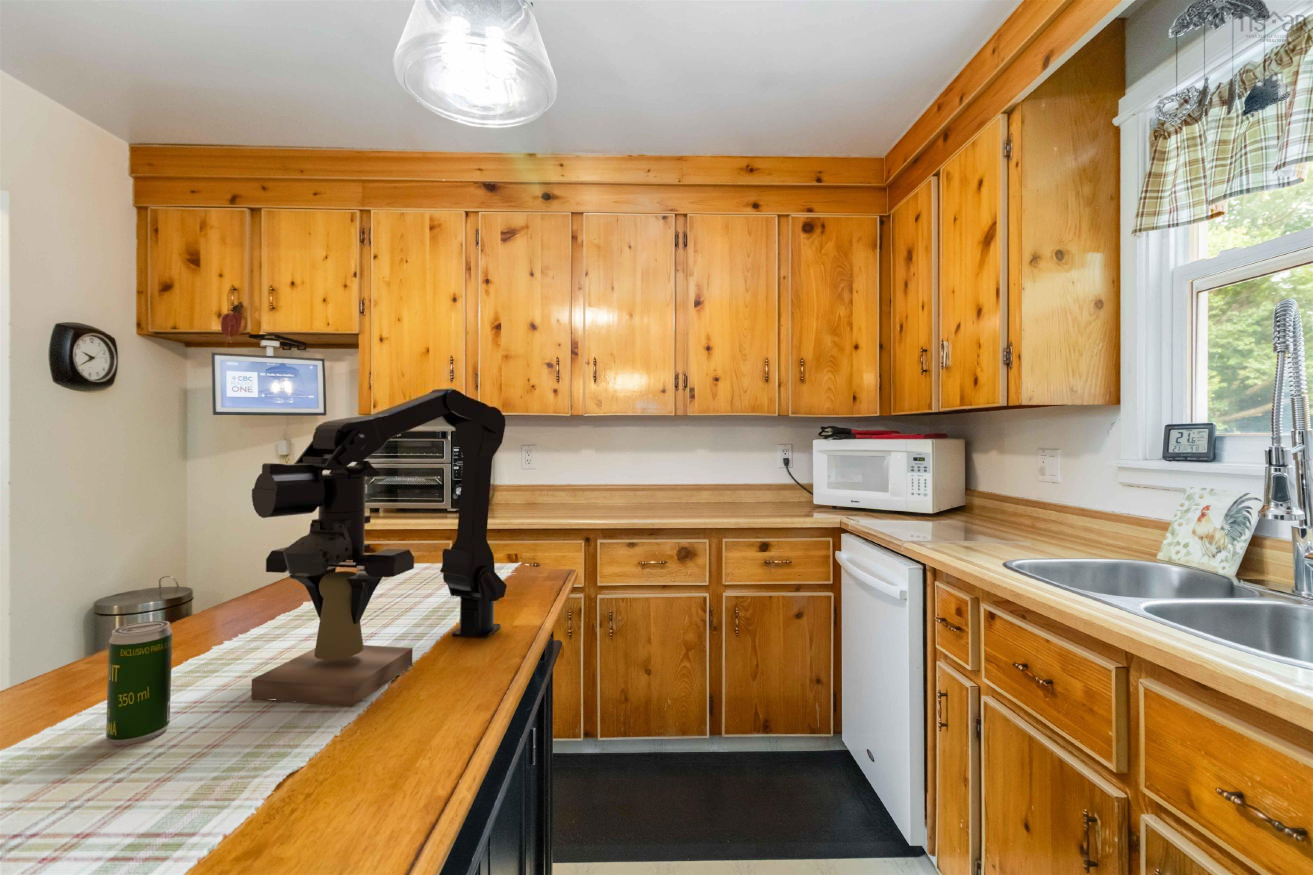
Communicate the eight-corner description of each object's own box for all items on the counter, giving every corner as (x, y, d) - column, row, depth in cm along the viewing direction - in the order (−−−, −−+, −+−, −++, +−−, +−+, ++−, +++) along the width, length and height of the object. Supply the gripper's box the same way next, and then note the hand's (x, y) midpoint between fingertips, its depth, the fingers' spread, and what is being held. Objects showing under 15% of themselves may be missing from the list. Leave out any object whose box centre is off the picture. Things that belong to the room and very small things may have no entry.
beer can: (164, 718, 69) (167, 617, 69) (174, 733, 66) (177, 626, 66) (102, 735, 65) (105, 627, 65) (109, 752, 62) (113, 638, 62)
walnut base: (325, 659, 89) (325, 642, 89) (412, 664, 87) (412, 647, 87) (251, 698, 75) (251, 679, 75) (352, 706, 73) (353, 686, 73)
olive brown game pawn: (342, 661, 77) (343, 578, 77) (303, 657, 79) (304, 576, 79) (373, 645, 83) (374, 569, 83) (336, 642, 84) (337, 566, 85)
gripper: (232, 515, 74) (230, 638, 74) (369, 519, 72) (367, 646, 72) (296, 506, 85) (294, 612, 85) (416, 509, 83) (415, 619, 83)
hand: (340, 622), depth 81 cm, fingers closed on olive brown game pawn, 4 cm apart
